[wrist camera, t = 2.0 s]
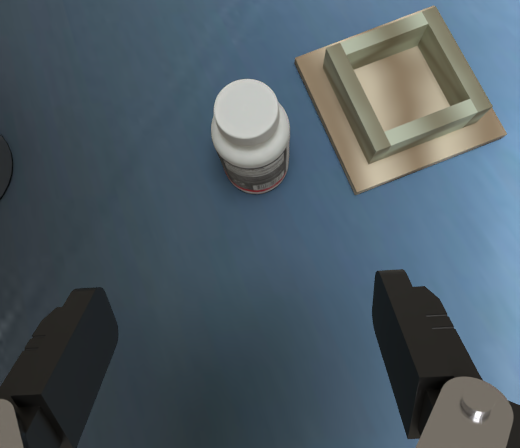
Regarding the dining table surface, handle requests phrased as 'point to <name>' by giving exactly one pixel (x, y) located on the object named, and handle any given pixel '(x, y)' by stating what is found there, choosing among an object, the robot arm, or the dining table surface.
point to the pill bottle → (251, 136)
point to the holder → (398, 99)
